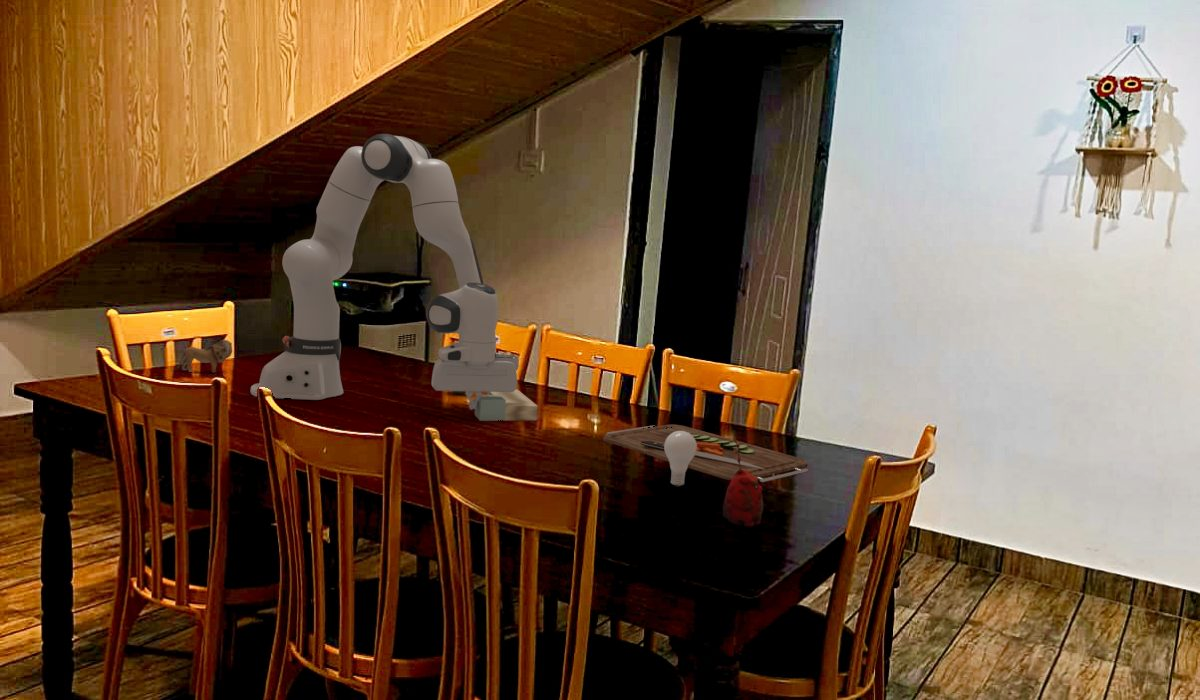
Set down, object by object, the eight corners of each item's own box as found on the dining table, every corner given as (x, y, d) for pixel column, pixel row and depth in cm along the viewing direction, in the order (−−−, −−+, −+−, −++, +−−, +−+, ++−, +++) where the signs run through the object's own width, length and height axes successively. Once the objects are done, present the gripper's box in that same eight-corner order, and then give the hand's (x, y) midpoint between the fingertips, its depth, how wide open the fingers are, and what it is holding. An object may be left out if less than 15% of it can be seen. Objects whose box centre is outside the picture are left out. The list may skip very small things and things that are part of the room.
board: (504, 420, 248) (505, 406, 247) (486, 402, 266) (487, 389, 266) (536, 420, 250) (537, 406, 250) (516, 402, 269) (517, 389, 268)
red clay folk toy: (761, 531, 178) (769, 446, 176) (720, 525, 180) (728, 441, 177) (761, 517, 186) (770, 436, 184) (722, 513, 187) (730, 432, 185)
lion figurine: (232, 371, 282) (233, 338, 281) (230, 375, 277) (231, 341, 276) (175, 369, 279) (175, 336, 277) (172, 373, 274) (172, 339, 272)
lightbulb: (691, 482, 206) (696, 428, 204) (695, 491, 199) (700, 436, 198) (659, 480, 205) (664, 426, 204) (662, 489, 199) (667, 433, 197)
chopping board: (822, 470, 225) (823, 456, 224) (746, 488, 206) (748, 473, 206) (667, 426, 256) (668, 414, 256) (590, 439, 238) (591, 426, 237)
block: (479, 420, 246) (481, 400, 245) (474, 415, 251) (475, 394, 250) (504, 420, 248) (505, 400, 247) (498, 415, 253) (500, 395, 252)
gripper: (516, 351, 252) (512, 406, 254) (432, 348, 245) (428, 405, 247) (522, 355, 246) (518, 412, 248) (436, 353, 239) (432, 411, 241)
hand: (472, 409), depth 247 cm, fingers closed
